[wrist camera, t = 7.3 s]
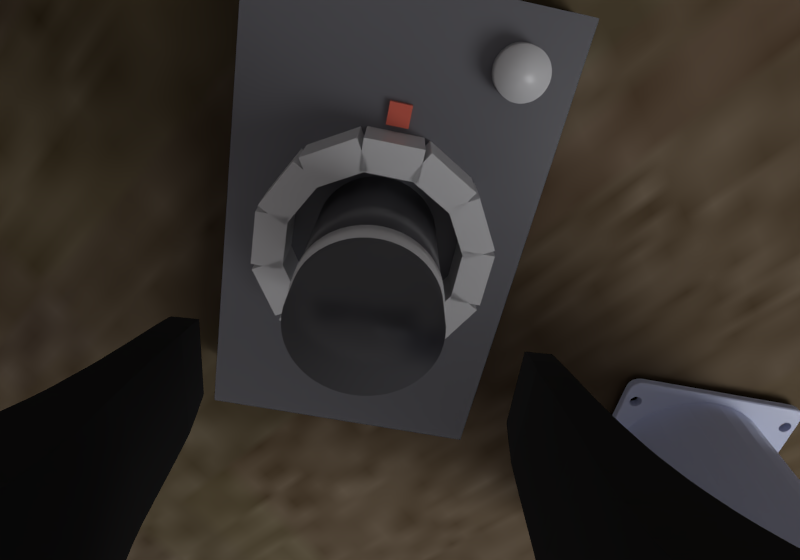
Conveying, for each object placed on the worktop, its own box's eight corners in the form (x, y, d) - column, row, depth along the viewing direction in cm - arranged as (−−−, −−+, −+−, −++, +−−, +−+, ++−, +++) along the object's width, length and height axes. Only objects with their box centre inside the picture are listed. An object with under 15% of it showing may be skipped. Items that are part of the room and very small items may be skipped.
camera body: (455, 400, 25) (463, 467, 22) (232, 362, 25) (202, 425, 21) (576, 14, 18) (616, 21, 15) (264, -57, 17) (227, -68, 14)
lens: (462, 230, 19) (483, 325, 14) (382, 308, 20) (372, 422, 15) (368, 148, 18) (351, 218, 12) (291, 238, 19) (244, 335, 14)
